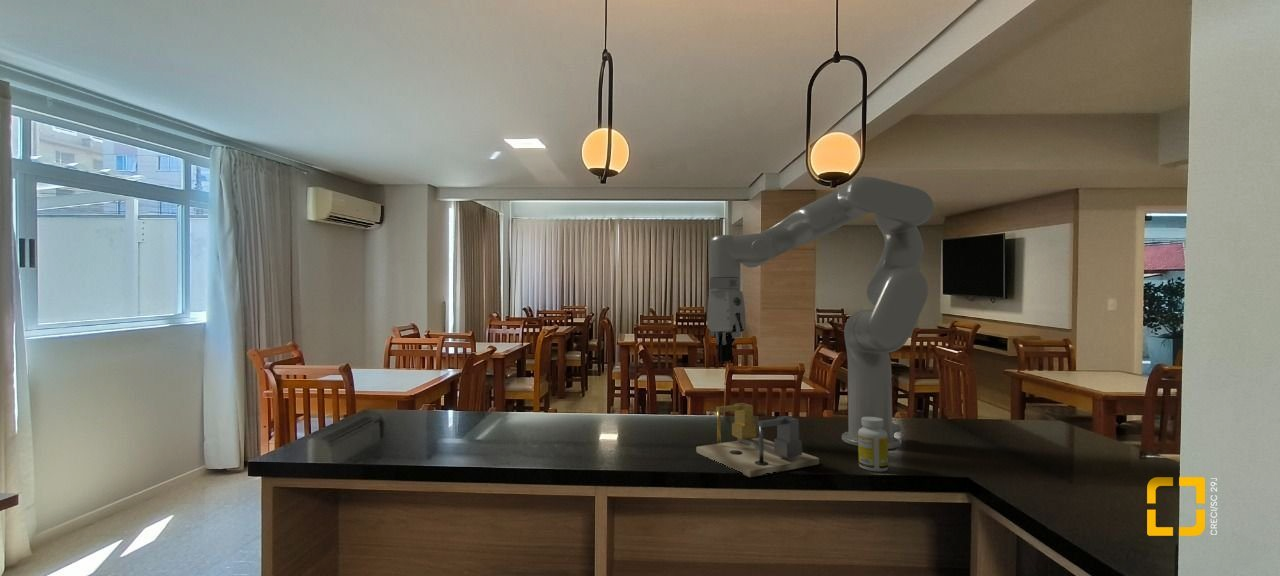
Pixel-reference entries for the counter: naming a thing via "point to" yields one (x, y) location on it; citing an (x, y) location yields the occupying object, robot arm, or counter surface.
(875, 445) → the supplement bottle
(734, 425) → the slider leg
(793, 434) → the fixed leg
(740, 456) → the board
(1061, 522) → the counter surface
